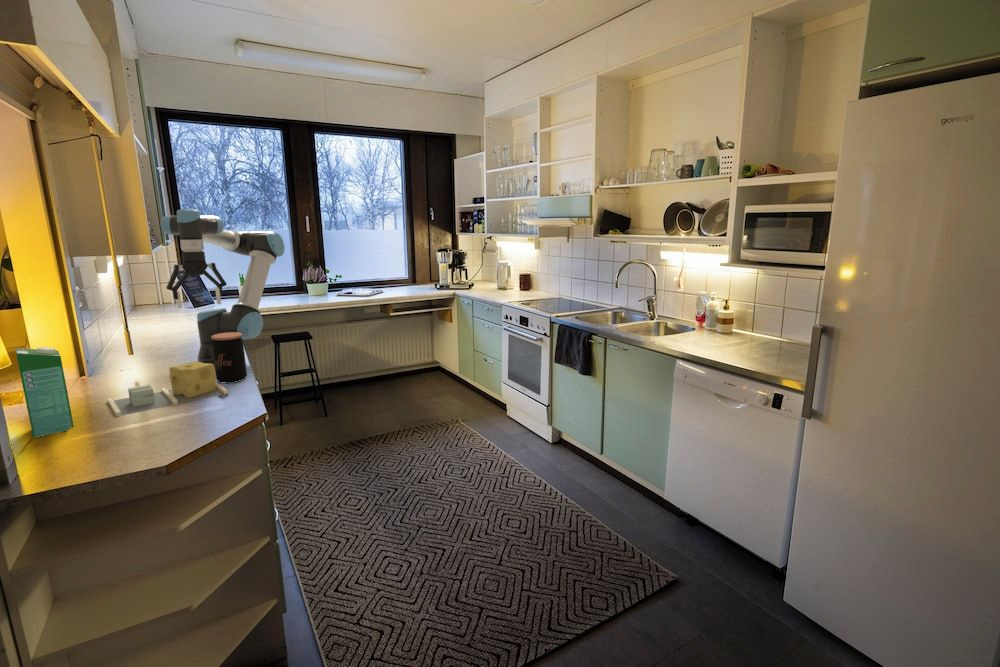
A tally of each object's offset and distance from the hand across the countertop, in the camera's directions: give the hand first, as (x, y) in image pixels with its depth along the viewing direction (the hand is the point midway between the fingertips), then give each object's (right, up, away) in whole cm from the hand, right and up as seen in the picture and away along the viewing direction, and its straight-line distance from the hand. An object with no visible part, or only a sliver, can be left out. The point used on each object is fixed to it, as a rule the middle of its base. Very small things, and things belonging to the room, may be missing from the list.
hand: (200, 306), depth 198 cm
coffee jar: (+12, -29, +2) cm, 31 cm away
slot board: (+3, -34, -22) cm, 41 cm away
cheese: (+8, -32, -17) cm, 37 cm away
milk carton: (-15, -39, -48) cm, 64 cm away
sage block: (-3, -34, -28) cm, 44 cm away
